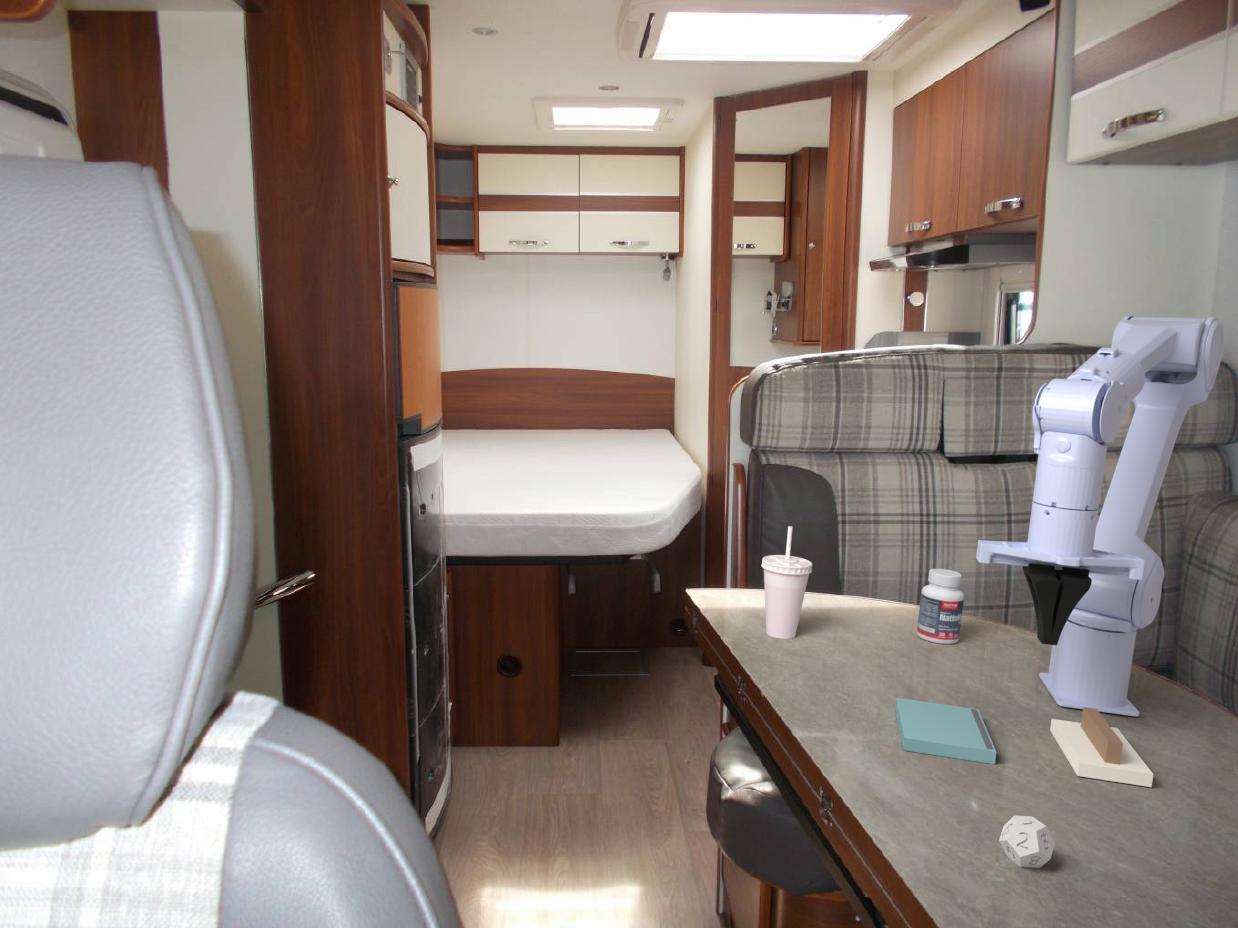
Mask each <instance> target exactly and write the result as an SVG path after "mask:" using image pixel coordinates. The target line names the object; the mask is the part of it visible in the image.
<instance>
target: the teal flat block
mask: <svg viewBox="0 0 1238 928" xmlns="http://www.w3.org/2000/svg"><path fill="white" fill-rule="evenodd" d="M894 710H895V715H896V720H897V725H898V730H899V731H898V732H899V735H900V736H899V737H900V740H901V747H902V751H905V752H906V751H907V752H912V753H913V752H914V753H919V754H924V755H925V754H926V755H931V756H938V757H943V758H944V757H946V758H951V759H958V760H965V761H971V762H977V763H978V762H979V763H984V764H991V765H996V758H997V750H996V748H995V746H994V743H993V740H992V738H991V736H990V734H989V730H988V729H987V727H986V725H985V722H984V720H983V717H982V714H981V713H980V709H978V708H972V707H966V706H964V707H963V706H957V705H950V704H943V703H937V702H936V703H935V702H929V701H922V700H916V699H914V700H913V699H908V698H901V697H895V707H894Z"/></svg>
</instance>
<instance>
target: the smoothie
mask: <svg viewBox="0 0 1238 928" xmlns="http://www.w3.org/2000/svg"><path fill="white" fill-rule="evenodd" d="M793 528H794V527H793V526H792V525H791V526H790V525H788V526H787V537H786V538H787V539H786V547H785V554H770V555H765V556H763V557H762V558H761V559H762V560H761V565H760V566H761V568H762V569H763V583H764V584H763V585H764V609H765V634H766V635H767V636H769V637H771V638H773V639H774V638H775V639H781V640H789V639H794V638H795V637H796V634H797V630H798V626H799V620H800V616H801V611H802V607H803V602H804V600H805V599H804V598H805V594H806V589H807V585H808V582H809V581H808V580H809V576H810V574H811V573H813V562H812V561H810V560H808V559H805V558H803V557H799V556H794V555H791V551H792V550H791V548H792V539H793V538H792V537H793Z"/></svg>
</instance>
